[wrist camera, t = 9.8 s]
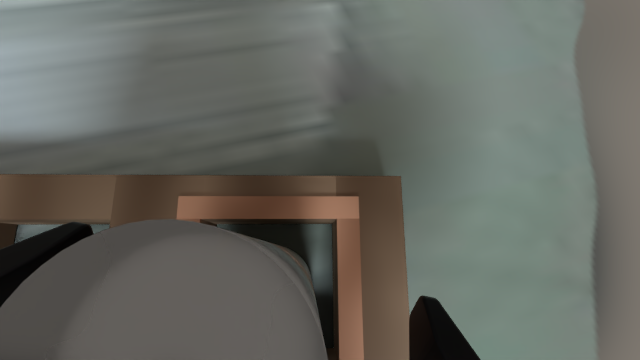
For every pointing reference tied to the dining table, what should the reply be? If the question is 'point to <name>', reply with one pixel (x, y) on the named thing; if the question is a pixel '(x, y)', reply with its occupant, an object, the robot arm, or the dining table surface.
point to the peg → (165, 299)
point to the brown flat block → (255, 208)
